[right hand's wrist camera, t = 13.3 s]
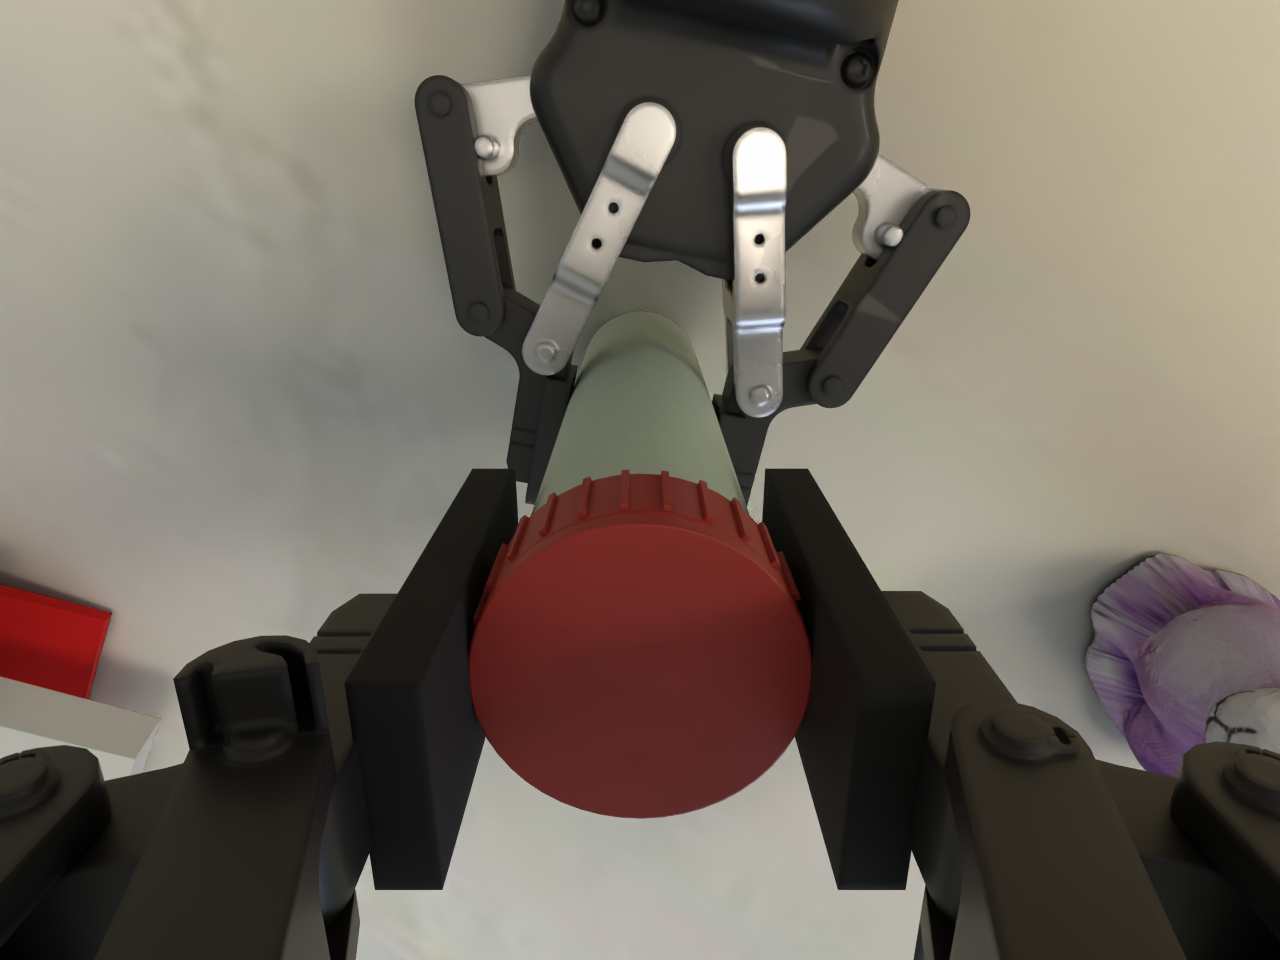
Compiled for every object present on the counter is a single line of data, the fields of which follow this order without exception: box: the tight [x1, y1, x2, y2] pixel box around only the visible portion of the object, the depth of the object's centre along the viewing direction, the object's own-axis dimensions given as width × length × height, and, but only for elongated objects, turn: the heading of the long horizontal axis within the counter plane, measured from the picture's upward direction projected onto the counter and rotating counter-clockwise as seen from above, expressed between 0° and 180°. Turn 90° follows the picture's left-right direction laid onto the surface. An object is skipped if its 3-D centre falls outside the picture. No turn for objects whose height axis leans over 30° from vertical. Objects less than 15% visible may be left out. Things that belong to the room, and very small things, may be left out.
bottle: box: [531, 311, 749, 515], centre depth 20 cm, size 4×4×19 cm
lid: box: [468, 469, 812, 818], centre depth 11 cm, size 5×5×2 cm
